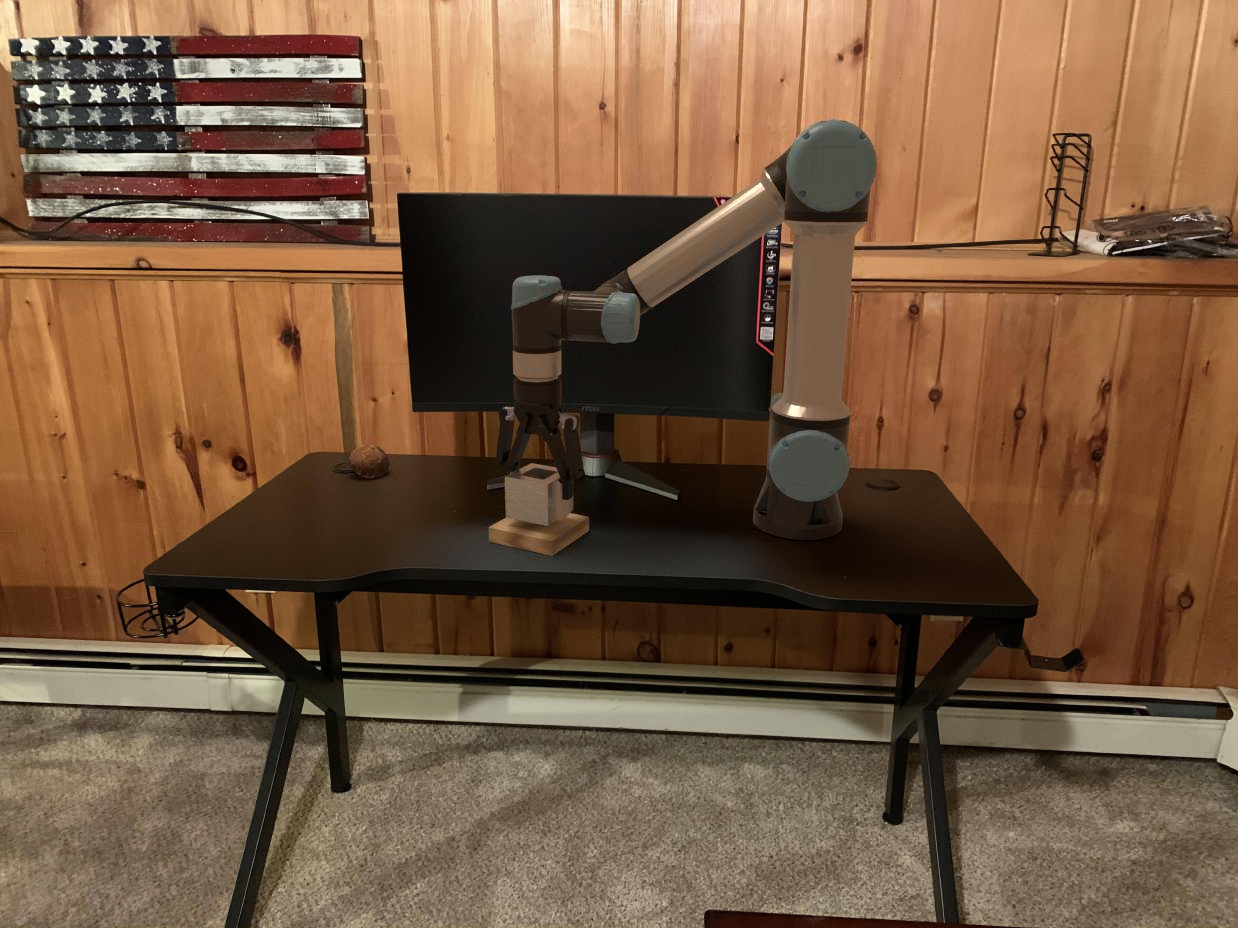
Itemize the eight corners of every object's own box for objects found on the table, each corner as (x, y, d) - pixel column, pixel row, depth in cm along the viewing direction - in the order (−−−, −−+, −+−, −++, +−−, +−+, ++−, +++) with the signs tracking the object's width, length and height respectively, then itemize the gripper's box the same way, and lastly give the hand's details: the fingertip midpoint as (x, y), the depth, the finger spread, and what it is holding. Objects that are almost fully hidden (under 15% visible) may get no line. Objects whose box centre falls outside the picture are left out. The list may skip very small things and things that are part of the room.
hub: (573, 510, 153) (573, 470, 151) (548, 526, 146) (547, 484, 144) (532, 502, 156) (531, 463, 154) (505, 517, 150) (504, 476, 148)
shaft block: (589, 530, 155) (589, 483, 152) (552, 555, 145) (551, 505, 142) (528, 518, 160) (527, 471, 158) (488, 541, 150) (487, 492, 147)
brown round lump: (343, 454, 184) (354, 433, 180) (381, 464, 188) (393, 443, 184) (342, 483, 178) (353, 462, 175) (381, 493, 182) (394, 472, 179)
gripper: (607, 379, 143) (606, 516, 150) (495, 365, 152) (499, 495, 159) (584, 389, 137) (584, 531, 144) (468, 374, 146) (474, 508, 153)
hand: (539, 512), depth 151 cm, fingers closed on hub, 8 cm apart
